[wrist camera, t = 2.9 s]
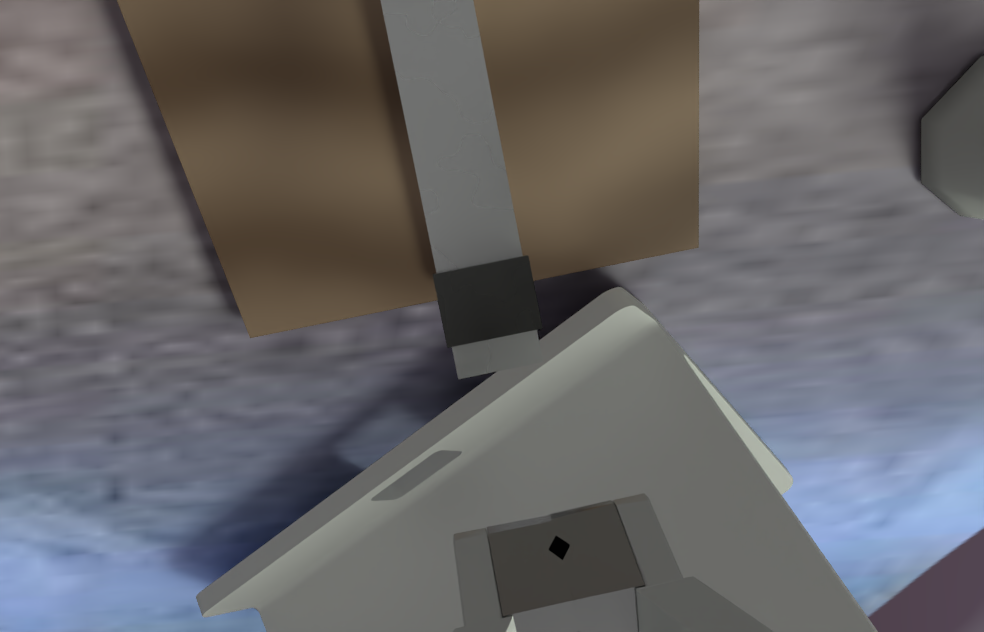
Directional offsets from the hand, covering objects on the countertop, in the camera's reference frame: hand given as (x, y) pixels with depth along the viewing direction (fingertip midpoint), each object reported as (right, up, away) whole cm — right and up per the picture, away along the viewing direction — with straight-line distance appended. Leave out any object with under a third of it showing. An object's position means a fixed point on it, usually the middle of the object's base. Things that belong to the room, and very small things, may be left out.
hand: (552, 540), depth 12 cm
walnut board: (-3, +12, +15) cm, 20 cm away
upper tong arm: (-2, +10, +10) cm, 14 cm away
